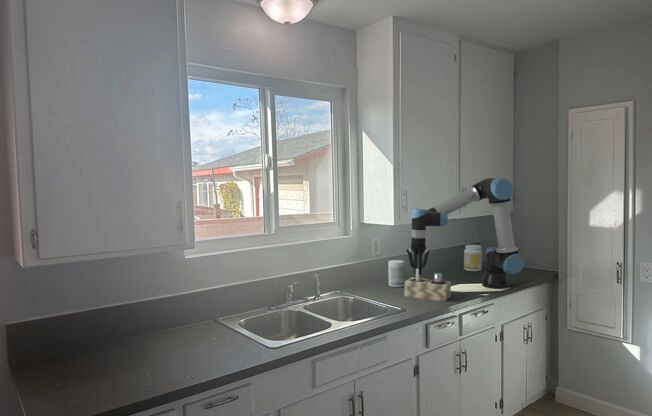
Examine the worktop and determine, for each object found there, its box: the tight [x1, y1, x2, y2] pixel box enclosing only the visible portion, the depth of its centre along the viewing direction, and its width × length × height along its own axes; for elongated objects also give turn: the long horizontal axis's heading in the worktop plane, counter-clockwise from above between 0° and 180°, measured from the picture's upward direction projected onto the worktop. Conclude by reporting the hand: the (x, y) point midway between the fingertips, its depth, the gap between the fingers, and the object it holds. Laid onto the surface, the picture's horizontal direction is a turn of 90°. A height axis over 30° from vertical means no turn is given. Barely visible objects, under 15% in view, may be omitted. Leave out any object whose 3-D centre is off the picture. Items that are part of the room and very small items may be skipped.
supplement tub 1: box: [387, 259, 406, 288], centre depth 275 cm, size 10×10×15 cm
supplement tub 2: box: [463, 244, 483, 272], centre depth 323 cm, size 12×12×17 cm
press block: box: [403, 277, 452, 302], centre depth 251 cm, size 22×12×8 cm, turn 62°
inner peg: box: [433, 272, 443, 284], centre depth 248 cm, size 4×4×7 cm
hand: (417, 280), depth 253 cm, fingers closed
